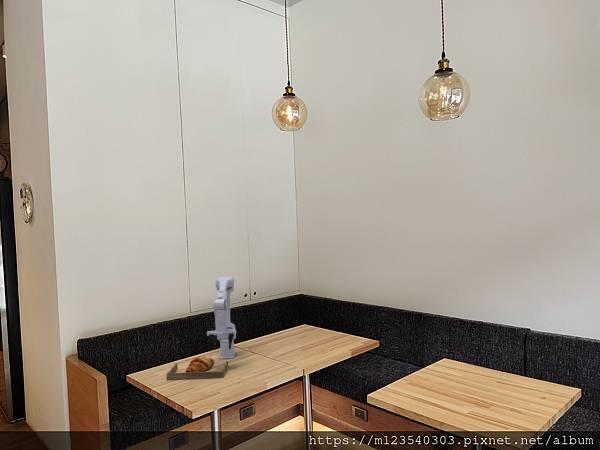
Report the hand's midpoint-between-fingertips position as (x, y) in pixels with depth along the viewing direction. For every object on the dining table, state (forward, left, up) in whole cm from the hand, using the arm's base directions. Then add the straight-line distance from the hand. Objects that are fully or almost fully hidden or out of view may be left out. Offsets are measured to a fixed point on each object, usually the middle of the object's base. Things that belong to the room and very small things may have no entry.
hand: (222, 349), depth 225 cm
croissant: (0, -11, -10) cm, 15 cm away
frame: (+6, -11, -10) cm, 16 cm away
